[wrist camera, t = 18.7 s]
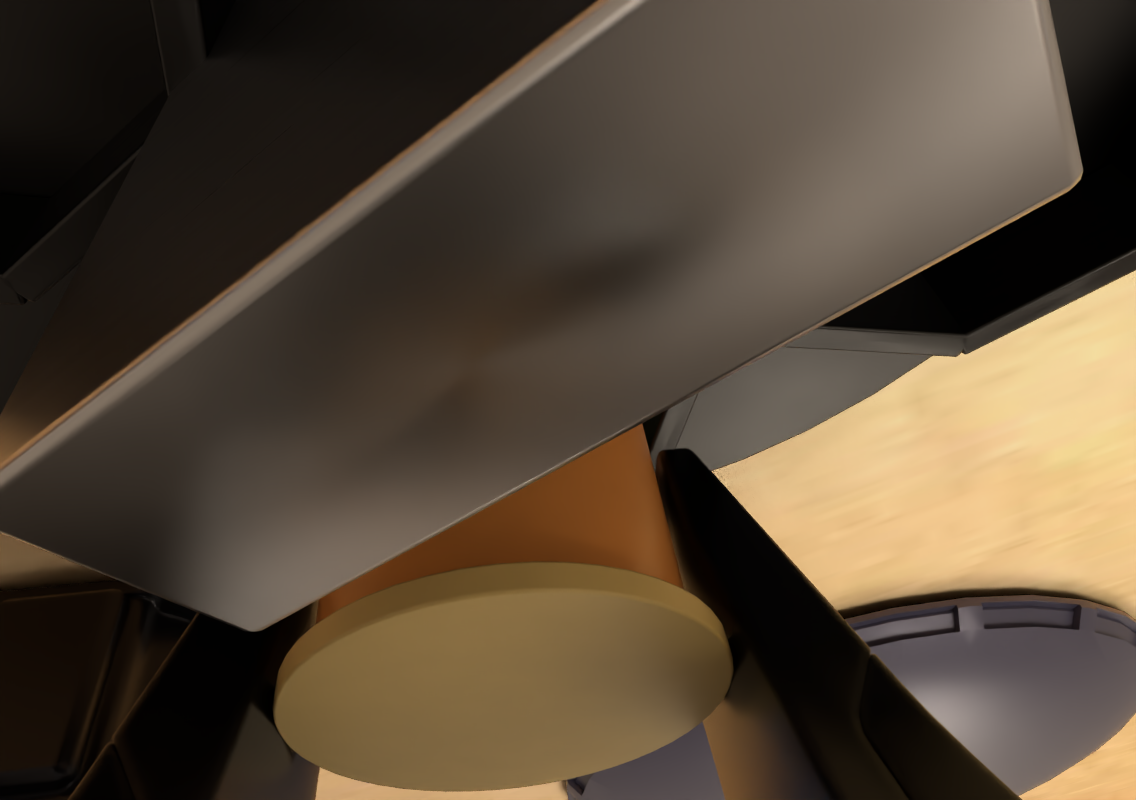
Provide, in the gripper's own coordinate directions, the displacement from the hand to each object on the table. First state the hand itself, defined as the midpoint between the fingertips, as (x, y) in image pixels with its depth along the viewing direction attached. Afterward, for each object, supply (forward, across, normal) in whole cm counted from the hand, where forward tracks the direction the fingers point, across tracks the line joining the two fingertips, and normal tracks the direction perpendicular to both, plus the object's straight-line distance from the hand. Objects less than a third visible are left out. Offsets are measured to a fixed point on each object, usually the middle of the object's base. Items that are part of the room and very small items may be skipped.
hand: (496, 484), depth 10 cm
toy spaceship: (+5, -14, +27) cm, 31 cm away
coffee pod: (+1, 0, 0) cm, 1 cm away
